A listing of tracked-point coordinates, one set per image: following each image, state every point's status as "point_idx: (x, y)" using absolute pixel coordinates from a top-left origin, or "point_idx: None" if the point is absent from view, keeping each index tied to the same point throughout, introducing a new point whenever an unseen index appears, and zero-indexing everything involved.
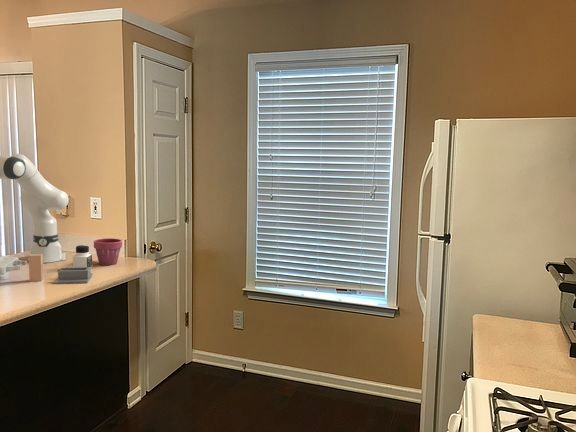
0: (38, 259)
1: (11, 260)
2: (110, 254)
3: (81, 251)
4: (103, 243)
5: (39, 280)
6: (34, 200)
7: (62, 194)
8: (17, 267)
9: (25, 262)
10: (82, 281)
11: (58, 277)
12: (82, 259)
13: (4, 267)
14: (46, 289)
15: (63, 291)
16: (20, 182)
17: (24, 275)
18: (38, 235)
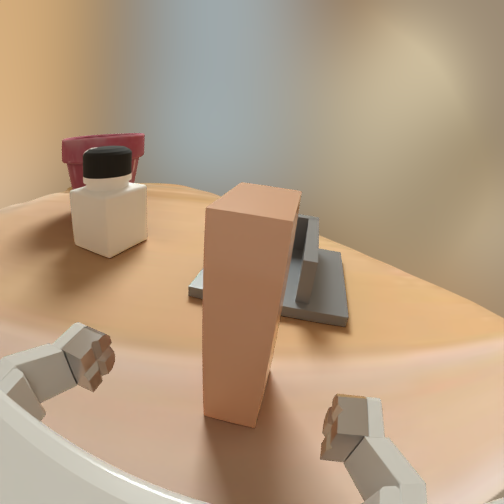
0: (294, 233)
1: (40, 447)
2: (134, 173)
3: (127, 167)
4: (131, 137)
5: (268, 375)
6: None
7: None
8: (375, 414)
9: (109, 340)
10: (340, 260)
11: (310, 293)
12: (135, 200)
13: (493, 501)
14: (430, 345)
15: (439, 305)
16: None
17: (50, 426)
18: None
